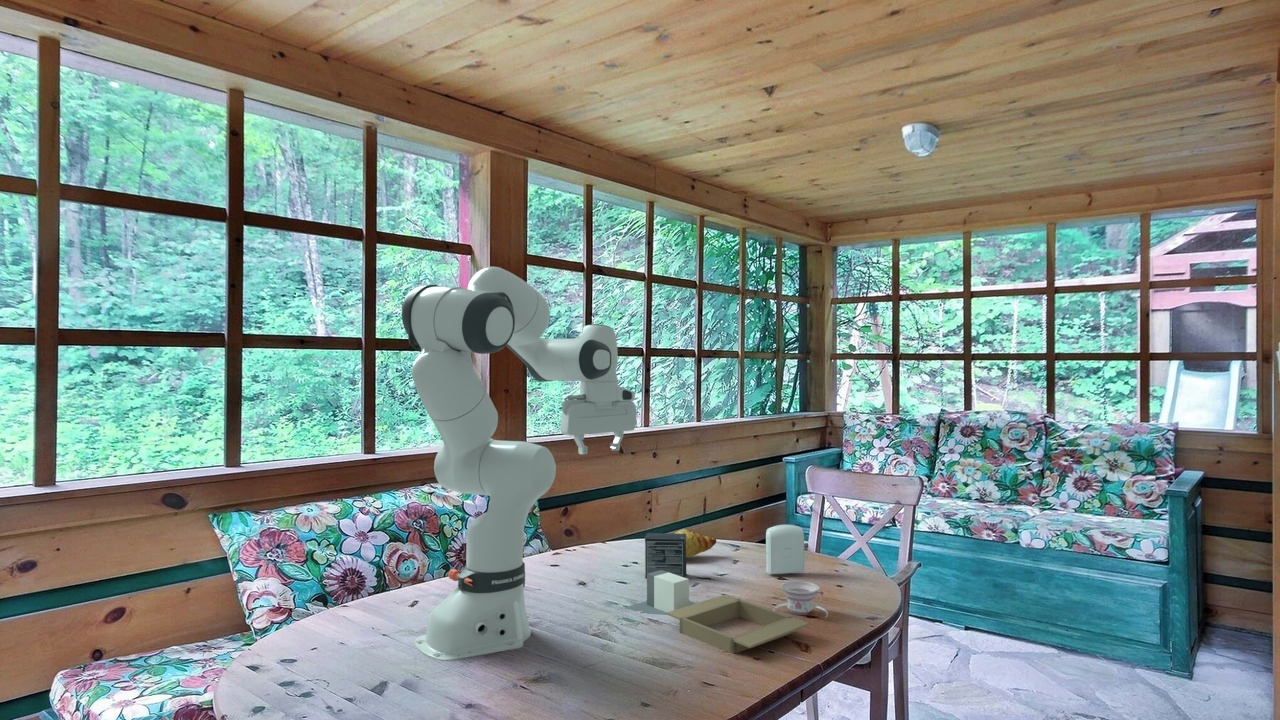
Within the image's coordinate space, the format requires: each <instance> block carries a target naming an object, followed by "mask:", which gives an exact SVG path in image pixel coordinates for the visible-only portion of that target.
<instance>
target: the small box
mask: <svg viewBox="0 0 1280 720" xmlns="http://www.w3.org/2000/svg"><path fill="white" fill-rule="evenodd" d="M644 546H645V547H644V549H645V550H644V552H645V553H644V556H645V558H644V561H645V564H644V565H645V566H644V567H645V574H644V578H645V580H647V574H648V573H652V572H656V571H660V570H663V571H666V572H669V573H672V574H675V575H678V576H681V577H684V578H687V557H686V534H674V533H670V532H669V533H664V532H663V533H658V532H656V533H654V532H647V533H646V535H645V537H644Z"/></svg>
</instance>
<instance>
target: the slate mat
mask: <svg viewBox="0 0 1280 720" xmlns="http://www.w3.org/2000/svg"><path fill="white" fill-rule="evenodd" d="M696 603H697V602H695V601H693V600H690V599H689V606H690V605H693V604H696ZM625 607H626V608H625V609H628V610H630V609H631V611H633V610H634V611H633V612H636V611H642V612H640V613H639V614H643V613H647V614H646V615H661V616H667V615H666V612H664V611H661V610H659V609H656V608H654V607H651V606H649V605H647V600H646V601H642V602H638V603H635V604H631V605H628V606H625Z"/></svg>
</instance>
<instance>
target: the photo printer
mask: <svg viewBox="0 0 1280 720" xmlns="http://www.w3.org/2000/svg"><path fill="white" fill-rule="evenodd" d="M765 531H766V532H765V547H766V548H765V560H766V561H765V564H766V566H765V567H766V569H765V570H766V573H767V574H769V575H774V574H775V575H777V574H778V575H779V574H791V573H792V574H793V573H794V574H795V573H804V572H805V533H804V529H803V527H801V526H798V525H795V524H778V525H774V526H772V527H768V528H767V529H766V530H765Z"/></svg>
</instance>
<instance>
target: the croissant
mask: <svg viewBox="0 0 1280 720" xmlns="http://www.w3.org/2000/svg"><path fill="white" fill-rule="evenodd" d="M673 534H686V558H689V557H694V556H696V555H698V554H701V553H704V552H706V551H708V550H710V549H712V548H713V547H714V546H715V545H716V543H717V539H716V538H715V537H709V536H707V535H701V534H699V533H695V532H694V531H693V530H690V529H685V528H683V529H678V530H677V531H676V532H674V533H673Z"/></svg>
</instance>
